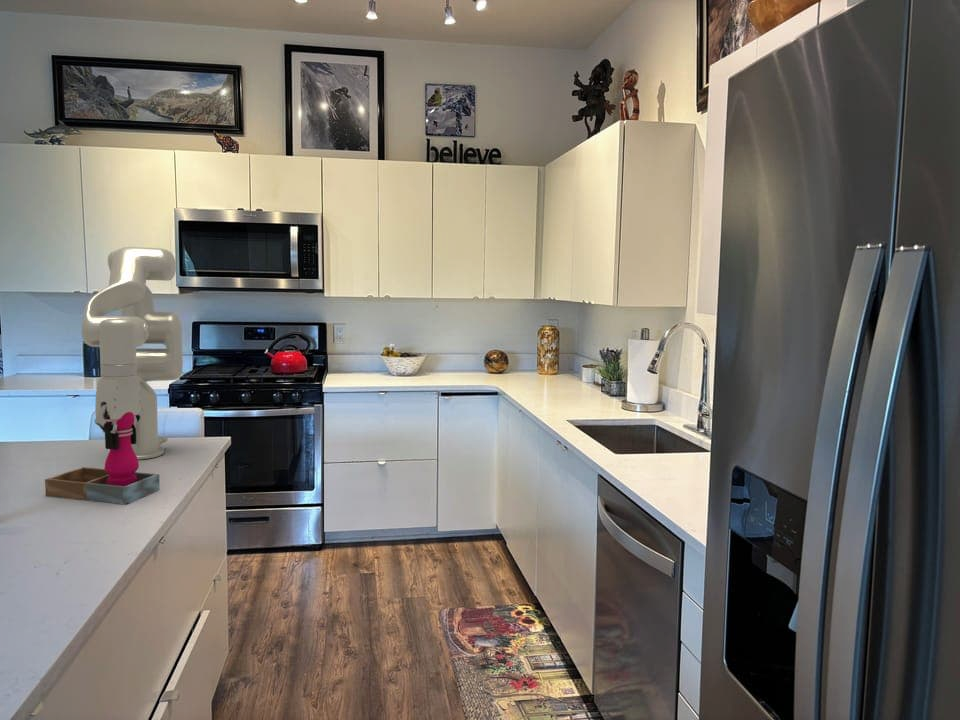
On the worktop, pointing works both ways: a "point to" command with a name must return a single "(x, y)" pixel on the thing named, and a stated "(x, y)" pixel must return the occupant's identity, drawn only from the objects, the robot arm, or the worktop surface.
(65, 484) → the organizer
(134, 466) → the pepper mill
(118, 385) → the robot arm
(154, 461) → the worktop surface
